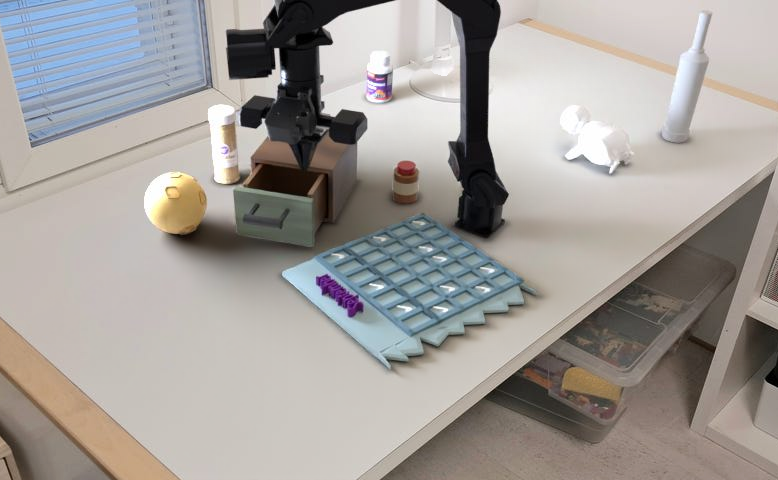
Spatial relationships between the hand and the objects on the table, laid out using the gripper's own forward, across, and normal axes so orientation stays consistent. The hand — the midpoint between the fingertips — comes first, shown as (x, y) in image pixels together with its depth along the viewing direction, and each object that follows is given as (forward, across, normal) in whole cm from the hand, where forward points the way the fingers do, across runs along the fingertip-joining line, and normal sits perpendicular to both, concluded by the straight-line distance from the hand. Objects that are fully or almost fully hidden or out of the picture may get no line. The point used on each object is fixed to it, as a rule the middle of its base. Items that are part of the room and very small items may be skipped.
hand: (305, 170), depth 135 cm
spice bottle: (+13, +11, +18) cm, 25 cm away
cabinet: (+12, -6, +12) cm, 18 cm away
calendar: (+13, +19, -7) cm, 24 cm away
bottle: (+14, +54, +60) cm, 82 cm away
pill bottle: (+13, -7, +55) cm, 57 cm away
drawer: (+12, -4, 0) cm, 12 cm away
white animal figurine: (+14, +39, +46) cm, 62 cm away
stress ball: (+12, -21, -5) cm, 25 cm away
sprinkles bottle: (+12, -21, +12) cm, 27 cm away
